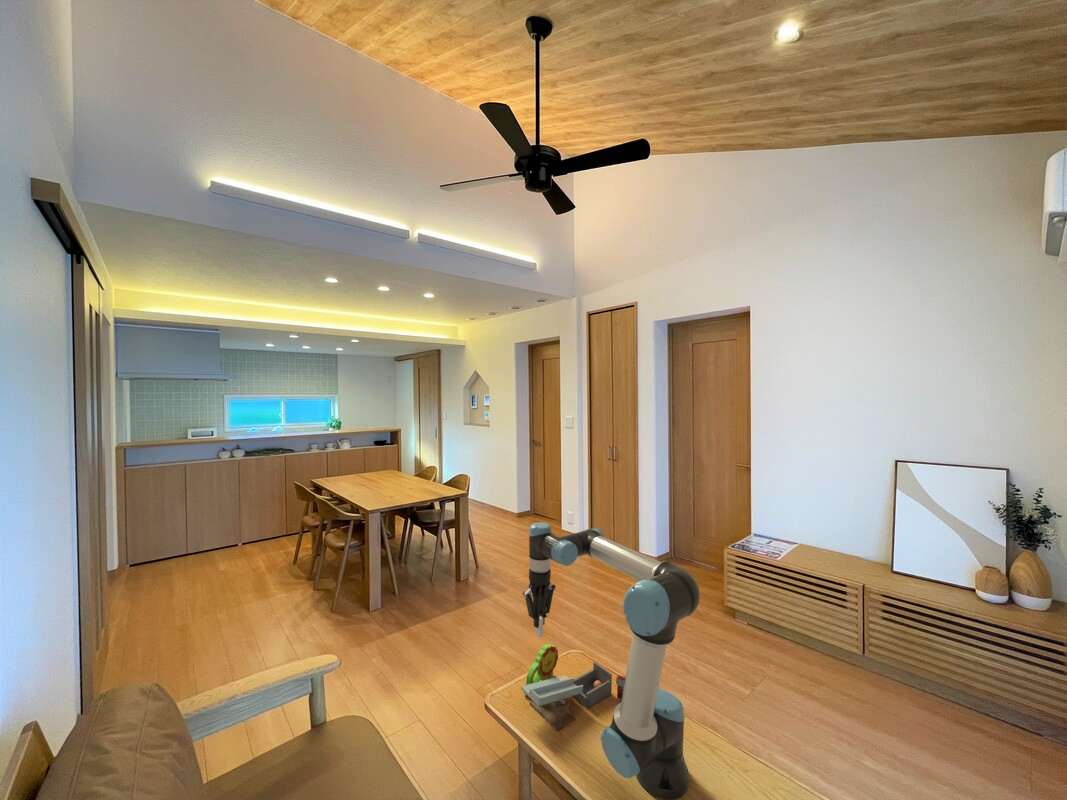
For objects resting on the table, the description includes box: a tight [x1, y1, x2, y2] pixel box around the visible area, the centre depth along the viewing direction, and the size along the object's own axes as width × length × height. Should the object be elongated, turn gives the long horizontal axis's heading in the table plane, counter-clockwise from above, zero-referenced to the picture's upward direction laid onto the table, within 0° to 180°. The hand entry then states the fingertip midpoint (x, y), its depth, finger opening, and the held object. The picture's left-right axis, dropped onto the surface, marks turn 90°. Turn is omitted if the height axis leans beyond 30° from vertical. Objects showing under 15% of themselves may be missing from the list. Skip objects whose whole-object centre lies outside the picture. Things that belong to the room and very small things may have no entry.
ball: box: [594, 680, 602, 688], centre depth 161 cm, size 3×3×3 cm
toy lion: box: [523, 643, 559, 696], centre depth 163 cm, size 16×5×15 cm, turn 137°
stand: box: [529, 699, 576, 732], centre depth 151 cm, size 15×8×6 cm, turn 37°
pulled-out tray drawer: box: [571, 661, 613, 710], centre depth 159 cm, size 9×12×8 cm
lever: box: [520, 674, 583, 706], centre depth 151 cm, size 13×20×3 cm, turn 127°
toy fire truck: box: [615, 674, 626, 705], centre depth 153 cm, size 7×12×10 cm, turn 64°
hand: (539, 635), depth 152 cm, fingers closed
